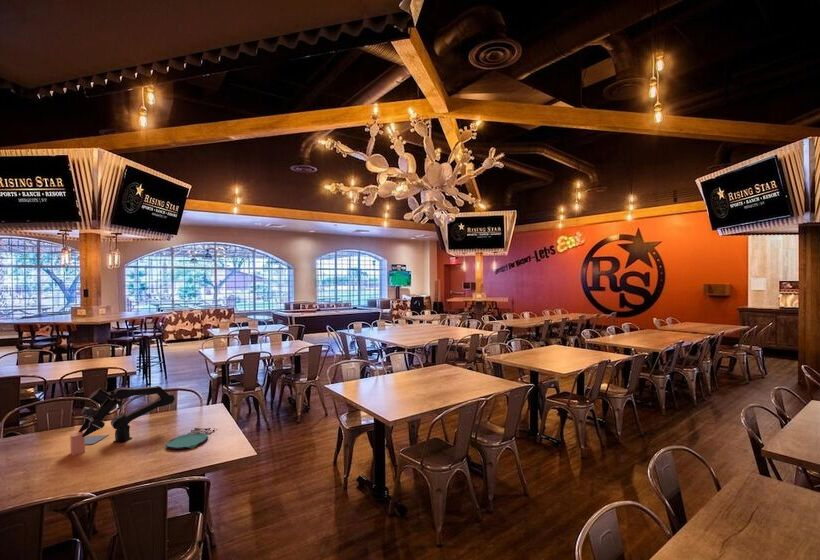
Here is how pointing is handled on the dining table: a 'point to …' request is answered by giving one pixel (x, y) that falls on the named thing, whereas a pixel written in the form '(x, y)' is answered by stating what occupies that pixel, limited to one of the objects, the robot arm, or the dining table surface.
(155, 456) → the dining table surface
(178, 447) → the green leaf shaped mat
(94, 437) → the slate mat
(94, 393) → the robot arm
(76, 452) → the red block
